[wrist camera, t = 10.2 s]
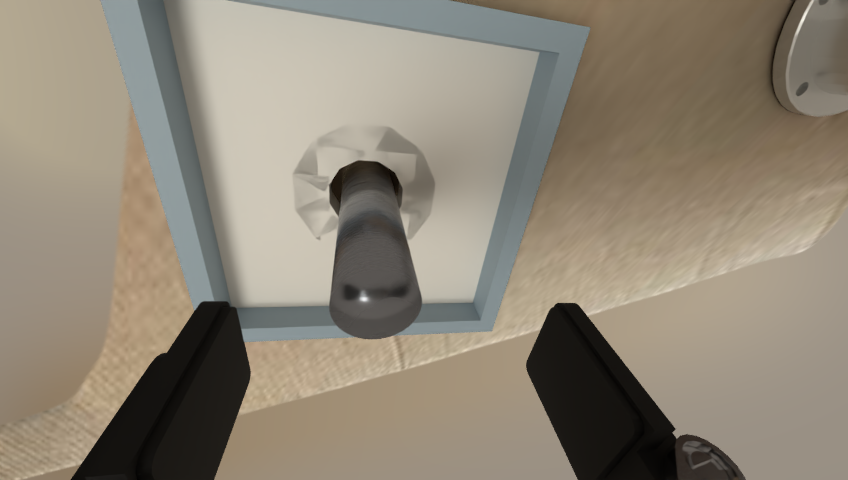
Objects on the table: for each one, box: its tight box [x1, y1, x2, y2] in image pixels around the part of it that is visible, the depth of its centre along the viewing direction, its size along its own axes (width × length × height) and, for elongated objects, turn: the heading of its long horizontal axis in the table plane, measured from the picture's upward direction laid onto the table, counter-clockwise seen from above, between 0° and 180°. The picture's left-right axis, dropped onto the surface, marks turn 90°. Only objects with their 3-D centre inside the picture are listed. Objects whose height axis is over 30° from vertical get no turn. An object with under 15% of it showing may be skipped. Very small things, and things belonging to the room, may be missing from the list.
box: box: [101, 0, 591, 342], centre depth 20 cm, size 20×20×4 cm
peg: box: [329, 160, 422, 339], centre depth 16 cm, size 3×3×12 cm
